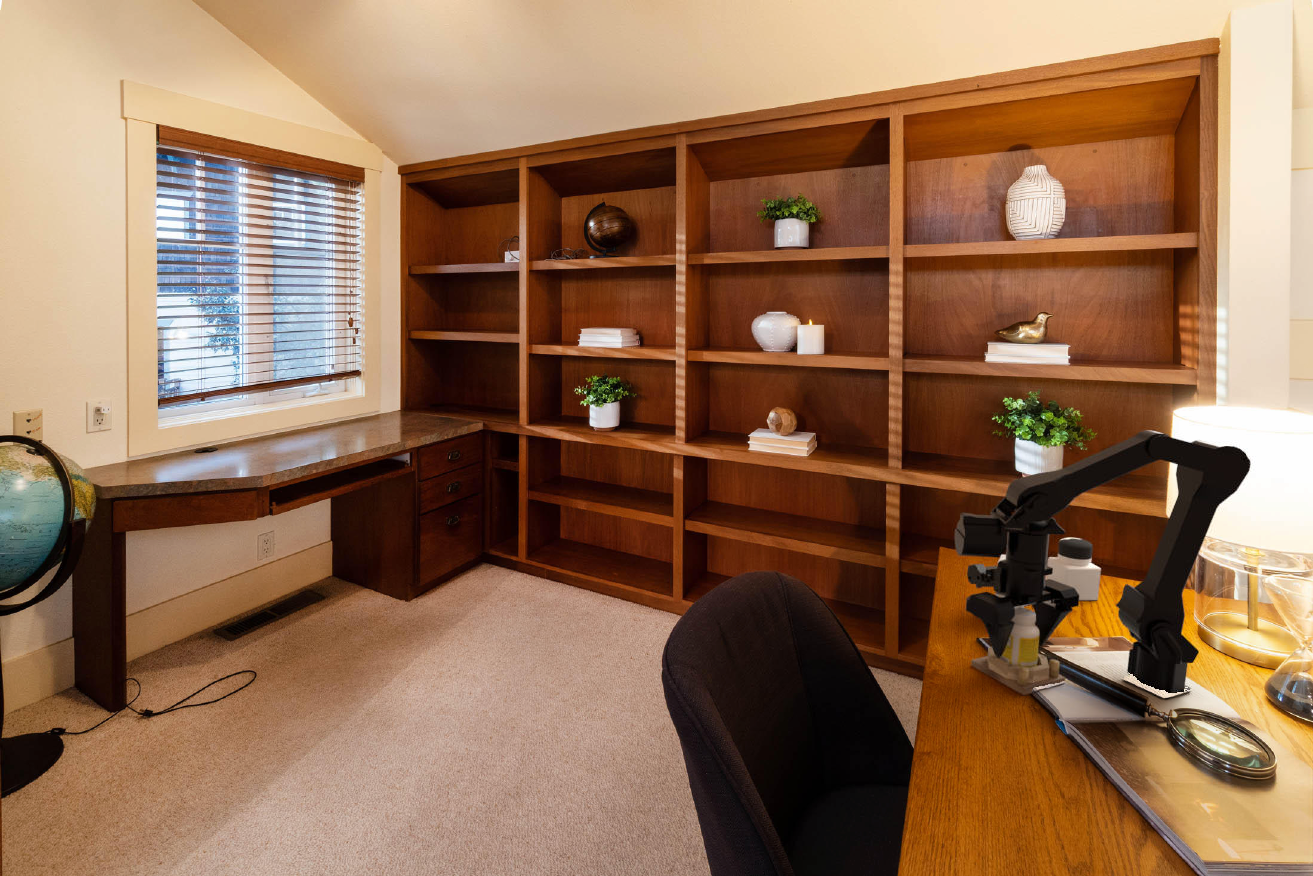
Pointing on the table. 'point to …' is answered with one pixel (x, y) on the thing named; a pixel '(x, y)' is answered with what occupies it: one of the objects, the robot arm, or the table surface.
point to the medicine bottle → (1076, 568)
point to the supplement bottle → (1022, 640)
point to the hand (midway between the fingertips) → (1018, 650)
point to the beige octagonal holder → (1019, 672)
